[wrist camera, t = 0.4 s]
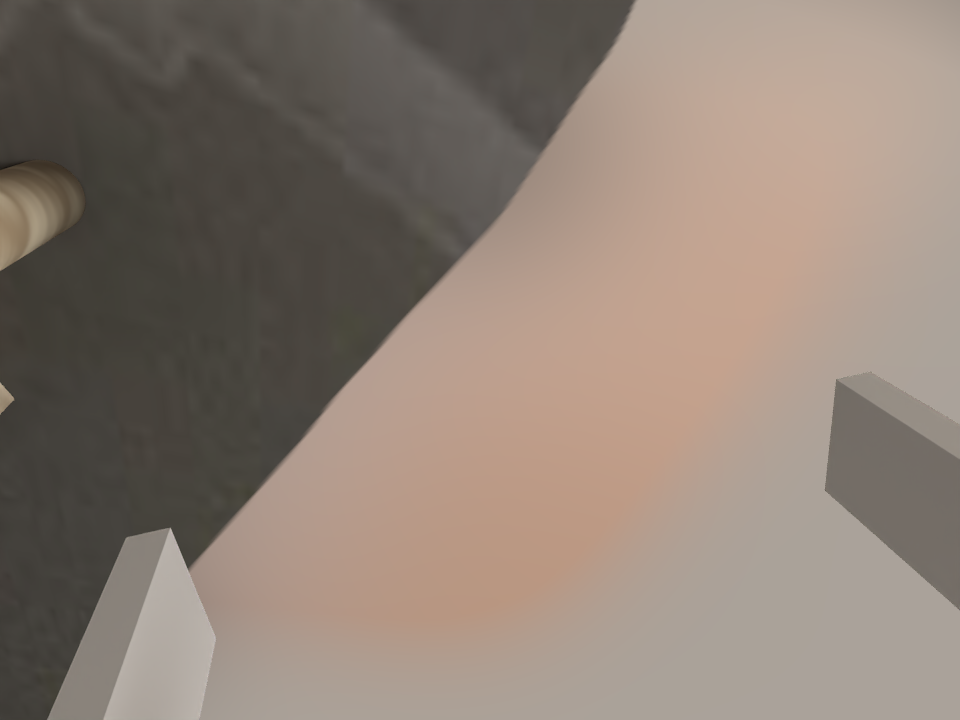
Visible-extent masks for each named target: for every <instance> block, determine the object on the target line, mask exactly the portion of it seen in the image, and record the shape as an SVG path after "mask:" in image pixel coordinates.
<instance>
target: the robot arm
mask: <svg viewBox="0 0 960 720" xmlns="http://www.w3.org/2000/svg"><path fill="white" fill-rule="evenodd" d="M825 491H826V492H827V493H828V494H830V495H831V496H832V497H833V498H834V499H835V500H836V501H837V502H839V503H840V504H841V505H842V506H843V507H844V508H845V509H847V510H848V511H849V512H850V513H851V514H852V515H853V516H854V517H856V518H857V519H858V520H859V521H860V522H861V523H862V524H863V525H864V526H866V527H867V528H868V529H869V530H870V531H871V532H873V534H875V535H876V536H877V537H878V538H879V539H880V540H881V541H883V542H884V543H885V544H886V545H887V546H888V547H889V548H890V549H891V550H893V551H894V552H895V553H896V554H897V555H898V556H899V557H900V558H902V559H903V560H904V561H905V562H906V563H907V564H909V566H911V567H912V568H913V569H914V570H915V571H916V572H917V573H919V574H920V575H921V576H922V577H923V578H924V579H925V580H926V581H927V582H929V583H930V584H931V585H932V586H933V587H934V588H936V590H938V591H939V592H940V593H941V594H942V595H943V596H944V597H946V598H947V599H948V600H949V601H950V602H951V603H952V604H954V605H955V606H956V607H957V608H958V609H959V610H960V425H959V424H958V423H956V422H955V421H953V420H951V419H949V418H948V417H946V416H944V415H943V414H941V413H939V412H938V411H936V410H934V409H933V408H931V407H929V406H927V405H926V404H924V403H922V402H921V401H919V400H917V399H916V398H914V397H912V396H911V395H909V394H907V393H905V392H903V391H902V390H900V389H899V388H897V387H895V386H894V385H892V384H890V383H889V382H887V381H885V380H883V379H882V378H880V377H878V376H877V375H875V374H873V373H872V372H868V373H863V374H859V375H854V376H850V377H845V378H841V379H836V387H835V397H834V407H833V417H832V426H831V436H830V446H829V456H828V465H827V475H826V485H825ZM215 641H216V637H215V635H214V632H213V630H212V627H211V625H210V623H209V620H208V618H207V615H206V613H205V611H204V608H203V606H202V603H201V601H200V598H199V596H198V593H197V591H196V589H195V586H194V584H193V581H192V579H191V577H190V574H189V572H188V569H187V567H186V564H185V562H184V560H183V557H182V555H181V552H180V550H179V547H178V545H177V543H176V540H175V538H174V535H173V533H172V531H171V528H167V529H162V530H158V531H153V532H149V533H144V534H140V535H136V536H131V537H127V538H126V539H125V542H124V544H123V546H122V549H121V551H120V553H119V556H118V558H117V560H116V562H115V565H114V567H113V569H112V572H111V574H110V576H109V579H108V581H107V583H106V586H105V588H104V590H103V592H102V595H101V597H100V599H99V602H98V604H97V606H96V609H95V611H94V613H93V615H92V618H91V620H90V622H89V625H88V627H87V629H86V632H85V634H84V636H83V639H82V641H81V643H80V645H79V648H78V650H77V652H76V655H75V657H74V659H73V662H72V664H71V666H70V668H69V671H68V673H67V675H66V678H65V680H64V682H63V685H62V687H61V689H60V692H59V694H58V696H57V698H56V701H55V703H54V705H53V708H52V710H51V712H50V715H49V717H48V719H47V720H199V718H200V714H201V709H202V704H203V699H204V694H205V689H206V684H207V679H208V675H209V670H210V665H211V660H212V655H213V650H214V645H215Z"/></svg>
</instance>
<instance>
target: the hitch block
mask: <svg viewBox="0 0 960 720" xmlns="http://www.w3.org/2000/svg"><path fill="white" fill-rule="evenodd" d="M13 400H14V398H13V396H12V395H11V394H10V393H9V392H8V391H7V390H6V389H5V388H4V386H3V385H2V384H1V383H0V414H1V413H2V412H3V411H4V410H5V409H6V408H7V406H8V405H9V404H10V403H11V402H12V401H13Z"/></svg>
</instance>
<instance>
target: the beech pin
mask: <svg viewBox="0 0 960 720" xmlns="http://www.w3.org/2000/svg"><path fill="white" fill-rule="evenodd" d="M85 204H86V203H85V194H84V191H83V189H82V186H81V185H80V183H79V181H78V180H77V179H76V177H75V176H74V175H73V174H72V173H71V172H69V171H68V170H67V169H65V168H64V167H62V166H60V165H58V164H56V163H53V162H50V161H45V160H31V161H27V162H24V163H21V164H18V165H15V166H12V167H9V168H6V169H2V170H0V271H1V270H3V269H4V268H6V267H7V266H9V265H11V264H12V263H14V262H15V261H17V260H19V259H20V258H22V257H24V256H25V255H27V254H28V253H30V252H32V251H33V250H35V249H36V248H38V247H40V246H41V245H43V244H44V243H46V242H48V241H49V240H51V239H53V238H54V237H56V236H57V235H59V234H61V233H62V232H64V231H65V230H67V229H69V228H70V227H72V226H73V225H75V224H76V223H77V222H78V221H79V220H80V219H81V217H82V215H83V213H84V210H85Z"/></svg>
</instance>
